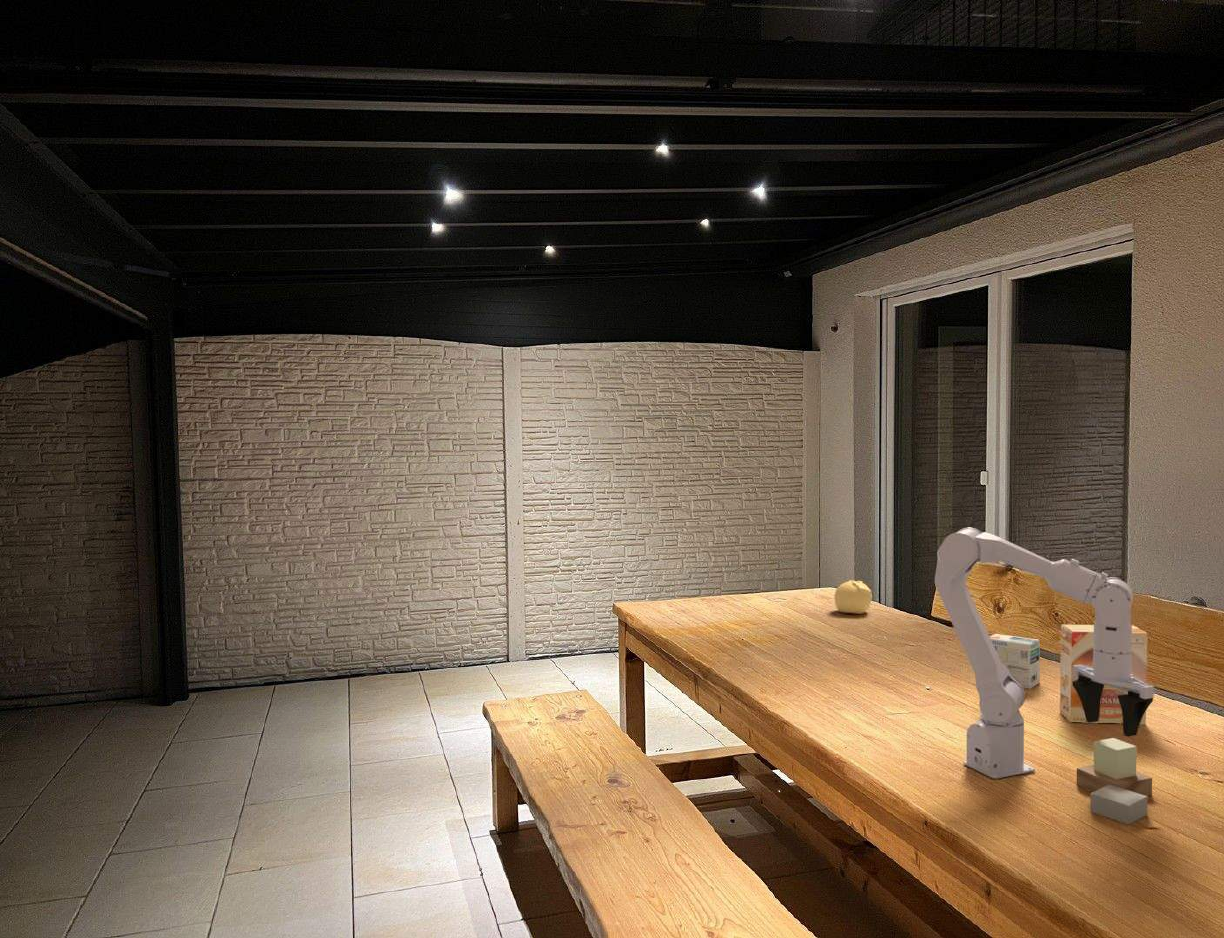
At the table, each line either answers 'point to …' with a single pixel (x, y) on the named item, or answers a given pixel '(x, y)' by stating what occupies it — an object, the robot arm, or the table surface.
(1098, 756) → the sage block
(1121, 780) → the walnut block
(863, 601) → the pale yellow round lump
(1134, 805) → the slate block
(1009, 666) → the light bulb box
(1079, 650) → the coffeecake box
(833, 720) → the table surface
